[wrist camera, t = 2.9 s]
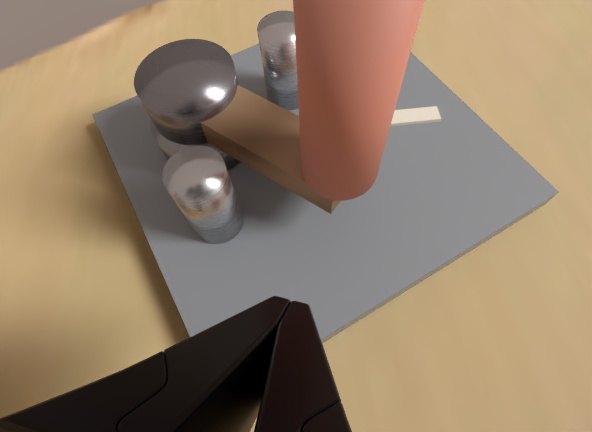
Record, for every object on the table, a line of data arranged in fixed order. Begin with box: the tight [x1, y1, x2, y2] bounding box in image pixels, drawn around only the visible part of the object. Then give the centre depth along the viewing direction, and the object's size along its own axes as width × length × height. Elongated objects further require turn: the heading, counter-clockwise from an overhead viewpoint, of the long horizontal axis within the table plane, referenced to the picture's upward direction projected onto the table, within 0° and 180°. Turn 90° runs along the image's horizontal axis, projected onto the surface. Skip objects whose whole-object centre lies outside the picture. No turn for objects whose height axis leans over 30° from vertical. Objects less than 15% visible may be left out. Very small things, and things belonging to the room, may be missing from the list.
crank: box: [134, 0, 424, 214], centre depth 14 cm, size 12×4×10 cm, turn 55°
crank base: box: [93, 11, 558, 343], centre depth 19 cm, size 18×17×6 cm
